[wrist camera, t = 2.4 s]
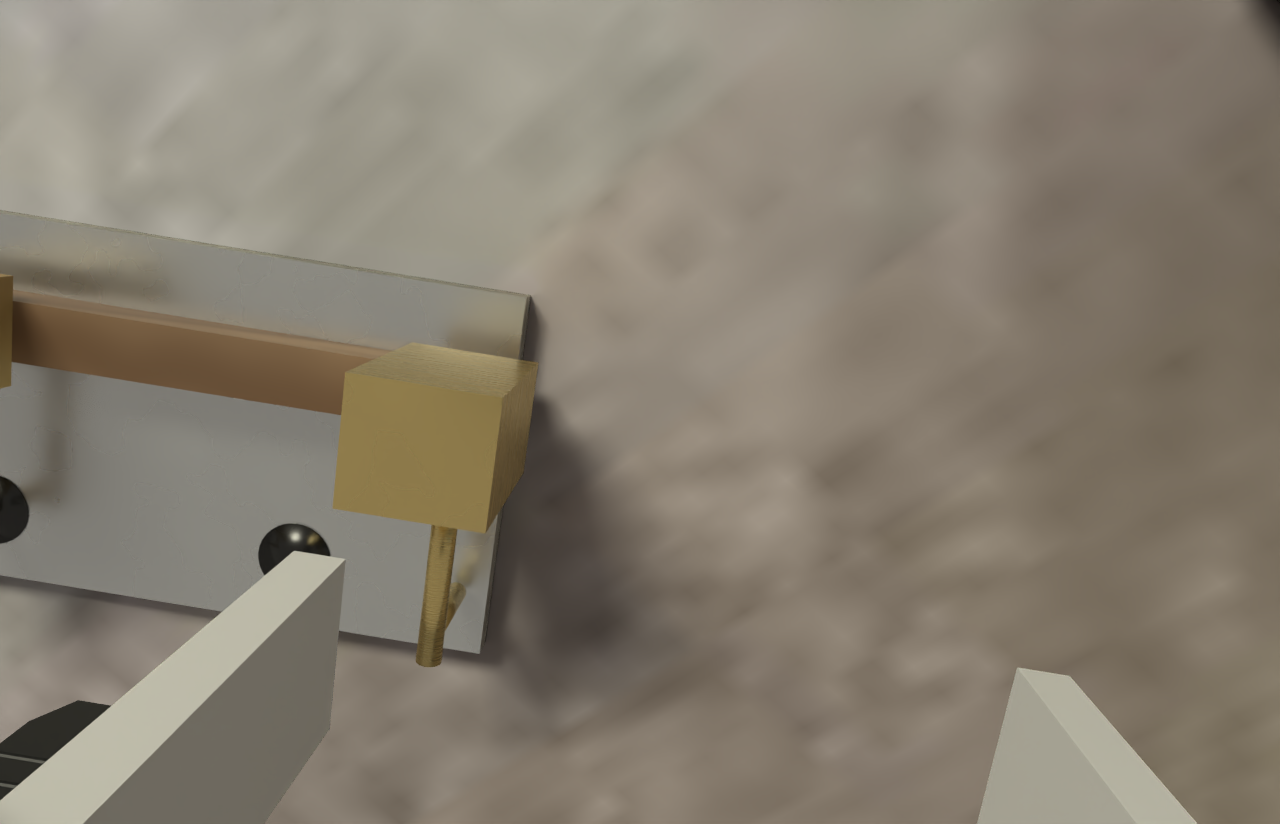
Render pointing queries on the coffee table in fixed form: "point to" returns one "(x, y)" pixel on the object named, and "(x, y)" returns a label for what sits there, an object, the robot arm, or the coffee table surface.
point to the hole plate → (221, 434)
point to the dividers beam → (174, 351)
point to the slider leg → (434, 454)
